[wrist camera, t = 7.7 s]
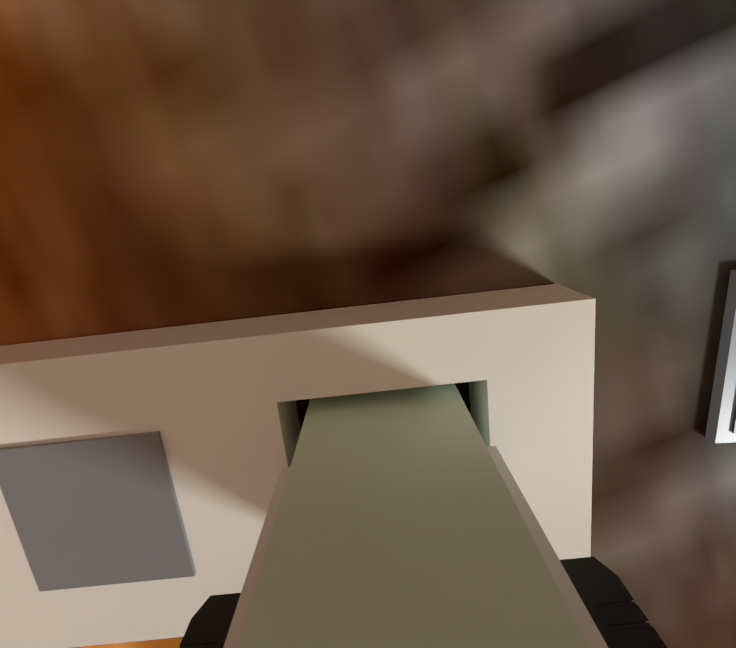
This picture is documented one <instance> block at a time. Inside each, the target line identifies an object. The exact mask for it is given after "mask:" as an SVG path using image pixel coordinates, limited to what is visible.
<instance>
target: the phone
mask: <svg viewBox="0 0 736 648" xmlns="http://www.w3.org/2000/svg"><path fill="white" fill-rule="evenodd" d="M705 437H706V438H708V439H709V440H711V441H712V442H714V443H729V442H736V270H731V272H730V278H729V285H728V291H727V298H726V304H725V311H724V317H723V324H722V330H721V337H720V343H719V350H718V356H717V363H716V369H715V376H714V382H713V389H712V395H711V402H710V408H709V415H708V421H707V428H706V434H705Z"/></svg>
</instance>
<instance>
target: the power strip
mask: <svg viewBox="0 0 736 648" xmlns="http://www.w3.org/2000/svg"><path fill="white" fill-rule="evenodd" d="M594 350H595V298H592V297H590V296H587V295H584V294H582V293H579V292H576V291H574V290H571V289H568V288H566V287H563V286H560V285H558V284H550V285H541V286H532V287H523V288H514V289H505V290H496V291H487V292H478V293H469V294H460V295H451V296H442V297H433V298H424V299H415V300H406V301H398V302H389V303H380V304H371V305H362V306H353V307H344V308H335V309H326V310H317V311H308V312H299V313H290V314H281V315H272V316H263V317H254V318H245V319H236V320H228V321H219V322H210V323H201V324H192V325H183V326H174V327H165V328H156V329H147V330H138V331H129V332H120V333H111V334H102V335H93V336H84V337H75V338H66V339H58V340H49V341H40V342H31V343H22V344H13V345H4V346H0V648H70V647H81V646H91V645H102V644H112V643H123V642H133V641H144V640H154V639H165V638H175V637H184V635H185V632H186V630H187V627H188V625H189V623H190V620H191V618H192V617H193V616H194V615H195V614H196V612H197V611H198V610H199V609H200V608H201V606H202V605H203V604H204V603H205V601H206V600H207V599H208V598H209V597H210V596H212V595H222V594H232V593H241V591H242V588H243V585H244V582H245V579H246V576H247V573H248V570H249V567H250V564H251V561H252V558H253V555H254V551H255V548H256V545H257V542H258V539H259V536H260V533H261V530H262V527H263V524H264V521H265V518H266V515H267V511H268V508H269V505H270V502H271V499H272V496H273V493H274V490H275V487H276V484H277V481H278V478H279V475H280V472H281V468H288V467H290V466H291V463H292V459H293V456H294V452H295V449H296V445H297V442H298V439H299V435H300V432H301V427H300V421H299V415H298V409H297V403H296V400H304V399H313V398H322V397H332V396H341V395H350V394H360V393H369V392H378V391H388V390H397V389H406V388H416V387H425V386H434V385H444V384H453V383H462V382H469V398H470V415H471V417H472V419H473V421H474V423H475V425H476V427H477V429H478V431H479V433H480V435H481V437H482V438H483V440H484V442H485V444H486V446H487V447H490V446H496V447H497V449H498V451H499V453H500V454H501V456H502V458H503V460H504V461H505V463H506V465H507V467H508V469H509V470H510V472H511V474H512V476H513V478H514V479H515V481H516V483H517V485H518V487H519V488H520V490H521V492H522V494H523V496H524V497H525V499H526V501H527V503H528V504H529V506H530V508H531V510H532V512H533V513H534V515H535V517H536V519H537V521H538V522H539V524H540V526H541V528H542V530H543V531H544V533H545V535H546V537H547V539H548V540H549V542H550V544H551V546H552V547H553V549H554V551H555V553H556V555H557V556H558V558H559V560H563V559H574V558H584V557H590V554H591V503H592V452H593V401H594Z"/></svg>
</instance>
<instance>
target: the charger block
mask: <svg viewBox="0 0 736 648" xmlns="http://www.w3.org/2000/svg"><path fill="white" fill-rule="evenodd" d="M237 648H588V646H587V644H586V642H585V640H584V638H583V636H582V634H581V632H580V630H579V628H578V626H577V624H576V622H575V620H574V618H573V616H572V614H571V612H570V610H569V608H568V606H567V604H566V602H565V600H564V598H563V596H562V594H561V593H560V591H559V589H558V587H557V585H556V583H555V581H554V579H553V577H552V575H551V573H550V571H549V569H548V567H547V565H546V563H545V561H544V559H543V557H542V555H541V553H540V551H539V549H538V547H537V545H536V543H535V541H534V539H533V537H532V535H531V533H530V531H529V529H528V527H527V525H526V523H525V521H524V519H523V517H522V515H521V514H520V512H519V510H518V508H517V506H516V504H515V502H514V500H513V498H512V496H511V494H510V492H509V490H508V488H507V486H506V484H505V482H504V480H503V478H502V476H501V474H500V472H499V470H498V468H497V466H496V464H495V462H494V460H493V458H492V456H491V454H490V452H489V450H488V448H487V446H486V444H485V442H484V440H483V438H482V437H481V435H480V433H479V431H478V429H477V427H476V425H475V423H474V421H473V419H472V417H471V415H470V413H469V411H468V409H467V407H466V405H465V403H464V401H463V399H462V397H461V395H460V393H459V391H458V389H457V387H456V385H455V383H453V384H444V385H434V386H425V387H416V388H406V389H397V390H388V391H378V392H369V393H360V394H350V395H341V396H332V397H322V398H313V399H310V401H309V405H308V408H307V411H306V415H305V418H304V422H303V425H302V428H301V432H300V435H299V439H298V442H297V445H296V449H295V452H294V456H293V459H292V463H291V466H290V469H289V473H288V476H287V480H286V483H285V486H284V490H283V493H282V497H281V500H280V503H279V507H278V510H277V514H276V517H275V520H274V524H273V527H272V531H271V534H270V537H269V541H268V544H267V548H266V551H265V554H264V558H263V561H262V565H261V568H260V571H259V575H258V578H257V582H256V585H255V588H254V592H253V595H252V599H251V602H250V606H249V609H248V612H247V616H246V619H245V623H244V626H243V629H242V633H241V636H240V640H239V643H238V646H237Z"/></svg>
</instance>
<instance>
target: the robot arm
mask: <svg viewBox="0 0 736 648" xmlns="http://www.w3.org/2000/svg"><path fill="white" fill-rule="evenodd" d="M487 448H488V450H489V452H490V454H491V456H492V458H493V460H494V462H495V464H496V466H497V468H498V470H499V472H500V474H501V476H502V478H503V480H504V482H505V484H506V486H507V488H508V490H509V492H510V494H511V496H512V498H513V500H514V502H515V504H516V506H517V508H518V510H519V512H520V514H521V515H522V517H523V519H524V521H525V523H526V525H527V527H528V529H529V531H530V533H531V535H532V537H533V539H534V541H535V543H536V545H537V547H538V549H539V551H540V553H541V555H542V557H543V559H544V561H545V563H546V565H547V567H548V569H549V571H550V573H551V575H552V577H553V579H554V581H555V583H556V585H557V587H558V589H559V591H560V593H561V594H562V596H563V598H564V600H565V602H566V604H567V606H568V608H569V610H570V612H571V614H572V616H573V618H574V620H575V622H576V624H577V626H578V628H579V630H580V632H581V634H582V636H583V638H584V640H585V642H586V644H587V646H588V648H667V647H666V645H665V644H664V642H663V641H662V639H661V638H660V636H659V635H658V634H657V632H656V631H655V629H654V628H653V627H651V626H650V624H649V621H648V619H647V618H646V616H645V615H644V613H643V612H642V611H641V609H640V608H639V606H638V605H636V604H635V601H634V599H633V598H632V596H631V595H630V593H629V592H628V590H627V589H626V587H625V586H624V585H623V583H622V582H621V580H620V579H619V577H618V576H617V575H616V574H615V573H613V572H612V571H611V570H610V569H608V568H607V567H606V566H605V565H603V564H602V563H601V562H600V561H598V560H597V559H596V558H595V557H584V558H574V559H563V560H559V558H558V556H557V555H556V553H555V551H554V549H553V547H552V546H551V544H550V542H549V540H548V539H547V537H546V535H545V533H544V531H543V530H542V528H541V526H540V524H539V522H538V521H537V519H536V517H535V515H534V513H533V512H532V510H531V508H530V506H529V504H528V503H527V501H526V499H525V497H524V496H523V494H522V492H521V490H520V488H519V487H518V485H517V483H516V481H515V479H514V478H513V476H512V474H511V472H510V470H509V469H508V467H507V465H506V463H505V461H504V460H503V458H502V456H501V454H500V453H499V451H498V449H497V447H496V446H490V447H487ZM289 469H290V467H288V468H281V472H280V475H279V478H278V481H277V484H276V487H275V490H274V493H273V496H272V499H271V502H270V505H269V508H268V511H267V515H266V518H265V521H264V524H263V527H262V530H261V533H260V536H259V539H258V542H257V545H256V548H255V551H254V555H253V558H252V561H251V564H250V567H249V570H248V573H247V576H246V579H245V582H244V585H243V588H242V591H241V593H232V594H222V595H212V596H210V597H209V598H208V599H207V600H206V601H205V603H204V604H203V605H202V606H201V608H200V609H199V610H198V611H197V612H196V614H195V615H194V616H193V617H192V618H191V620H190V623H189V625H188V627H187V630H186V632H185V635H184V637H183V639H182V642H181V644H180V648H237V646H238V643H239V640H240V636H241V633H242V629H243V626H244V623H245V619H246V616H247V612H248V609H249V606H250V602H251V599H252V595H253V592H254V588H255V585H256V582H257V578H258V575H259V571H260V568H261V565H262V561H263V558H264V554H265V551H266V548H267V544H268V541H269V537H270V534H271V531H272V527H273V524H274V520H275V517H276V514H277V510H278V507H279V503H280V500H281V497H282V493H283V490H284V486H285V483H286V480H287V476H288V473H289Z"/></svg>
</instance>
